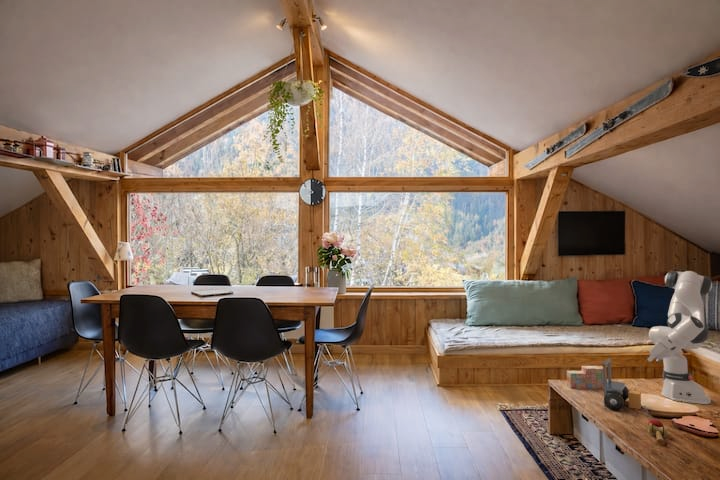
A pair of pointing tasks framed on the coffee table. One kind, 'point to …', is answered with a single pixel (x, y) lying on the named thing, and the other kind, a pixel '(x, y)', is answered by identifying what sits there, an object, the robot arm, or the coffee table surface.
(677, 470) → the coffee table surface
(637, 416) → the coffee table surface
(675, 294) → the robot arm
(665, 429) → the kendama
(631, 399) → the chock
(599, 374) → the stack of blocks
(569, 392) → the coffee table surface
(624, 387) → the trolley
